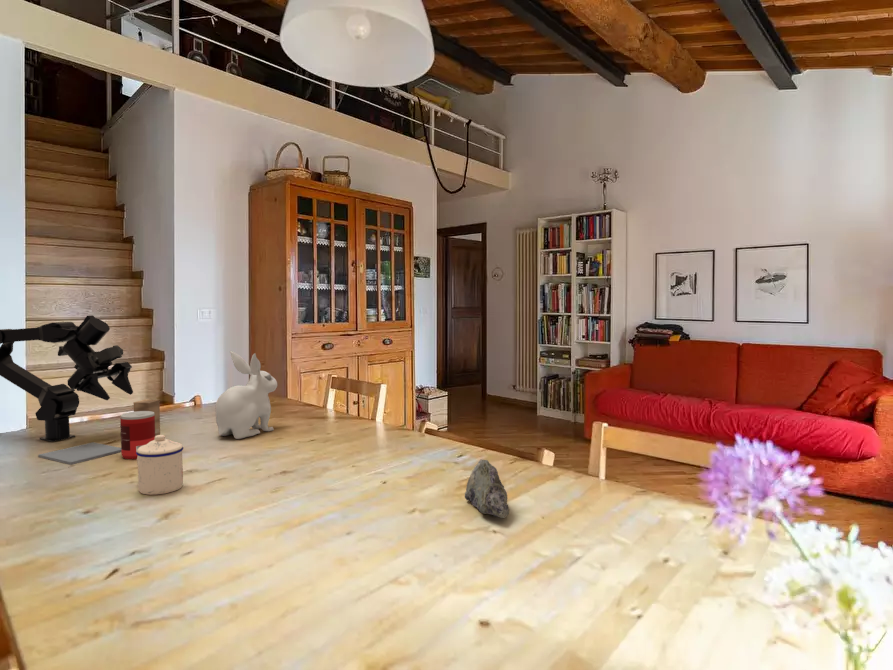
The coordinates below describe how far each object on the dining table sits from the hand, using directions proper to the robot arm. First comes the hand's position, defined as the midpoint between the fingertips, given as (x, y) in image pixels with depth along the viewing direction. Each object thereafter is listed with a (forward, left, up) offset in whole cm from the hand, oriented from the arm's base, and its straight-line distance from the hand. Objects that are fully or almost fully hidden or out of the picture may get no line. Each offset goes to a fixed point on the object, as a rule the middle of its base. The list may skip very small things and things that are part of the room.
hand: (120, 396), depth 159 cm
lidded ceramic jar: (+43, -20, -13) cm, 49 cm away
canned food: (+17, -6, -13) cm, 22 cm away
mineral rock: (+111, 0, -13) cm, 112 cm away
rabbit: (+24, +25, -13) cm, 37 cm away
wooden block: (+8, +3, -13) cm, 15 cm away
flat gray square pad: (+3, -12, -13) cm, 18 cm away
